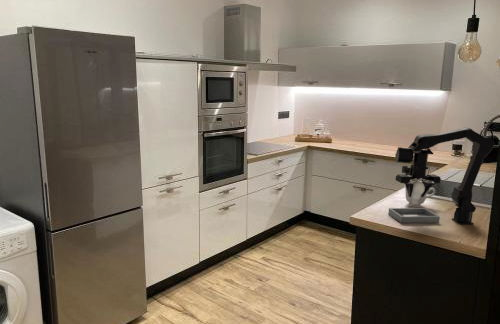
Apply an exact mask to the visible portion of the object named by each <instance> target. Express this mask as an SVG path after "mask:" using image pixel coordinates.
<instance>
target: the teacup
mask: <svg viewBox="0 0 500 324" xmlns="http://www.w3.org/2000/svg"><path fill="white" fill-rule="evenodd" d="M403 186H404V188H405V199H406V201H407V202H408V205H409V206H411V207H413V208H421V205H422V204H424V202H425V201H426V200H427V199H428V198H431V197H433V196H435V195H436V189H435V188H434V187H430V189H429V190H428V191H427V193H426V194H425V195H424V197H421V196H420V198H419V204H417V205H414V204H413V203H412V201H413V197H412V195H411V197H409V196H408V192H407V188H406V186H405V184H404V185H403ZM431 191H433V192H432V193H431V194H428V193H430V192H431Z"/></svg>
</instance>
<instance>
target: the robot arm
mask: <svg viewBox="0 0 500 324" xmlns="http://www.w3.org/2000/svg"><path fill="white" fill-rule="evenodd" d="M461 139H467V140H468V141H469V142H471V143H472V146H471V153H472V155H471V158H470V159H469V163H468V165H467V168H466V170H465V173H464V175H463V178H462V180H461V183H460V185H459V186H458V187H456V186H454V187H453V189H452V190H453V191H452V192H451V193H450V195H451V200H452V202H453V203H454V206H455V207H456V208H455V211H454V215H453V218H451V220H452V221H454V222H455V223H457V224H459V225H474V222H473V221H472V220H473V215H474V213H475V211H476V209H477V207H476V206H475V205H474V204H473V203H472V200H473V187H474V185H475V183H476V179H477V177H478V175H479V172H480V169H481V167H482V164H483V162H484V159H485V158H486V157H487V156H488V155H489V154H490V153H491V151H492V150H493V148H494V147H495V142H494V140H493V139H492V138H491V137H488V136H484V135H482V134H480V133H478V132H476V131H474V130H473V129H472V128H470V127H463V128H460V129H459V128H458V129H455V130H450V131H444V132H441V133H436V134H432V133H431V134H429V133H427V134H418V135H416V136H415V137H414V139H413V142H412V143H411V144H410V145H409V146H408V147H402V146H398V147H397V150H396V151H395V152H396V153H395V154H394V155H395V157H394V159H395V162H396V163H405V164H407V163H408V164H410V163H411V162H412V164H411V165H410V167H409V166H408V165H402V166H401V174H398V173H397V175H396V176H395V178H394V181H396V182H398V183H400V184H404V185H405V186H406V188H407V192H408V196H409V197H411V195H412V190H413V185H414V184H413V183H412V182H414V181H420V182H422V183H423V184H424V186H425V190H424V192H423V193H422V194H421V197H424V195H425V194H426V193H427V194H428V192H427V191H428V190H429V189H430V188H432V187H433V186H434V185H435V184H441V183H442V178H441V176H439V175H436V174H431V173H430V174H429V173H428V174H427V170H429V166H428V158H429V155H434V152H433V151H432V150H431V148H433V147H435V146H437V145H439V144H442V143H447V142H453V141H456V140H461ZM405 186H404V187H405Z"/></svg>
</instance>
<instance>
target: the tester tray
mask: <svg viewBox="0 0 500 324" xmlns="http://www.w3.org/2000/svg"><path fill="white" fill-rule="evenodd" d="M387 215H389V217H391V218H392V219H394V220H395V221H396V222H398V223H400V224H403V225H404V224H439V223H440V216H439V215H438V214H436V213H435V212H433V211H431V210H429V209H427V208H425V207H393V208H392V207H390V208H388V214H387Z"/></svg>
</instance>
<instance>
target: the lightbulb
mask: <svg viewBox="0 0 500 324" xmlns="http://www.w3.org/2000/svg"><path fill="white" fill-rule="evenodd" d="M412 183H413V184H414V185H413V190H412V197H413V201H412V203H413V204H414V205H417V204H419V198H420V196H421V194H422V193H423V192H424V190H425V186H424V184H423V183H422V181H412Z"/></svg>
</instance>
